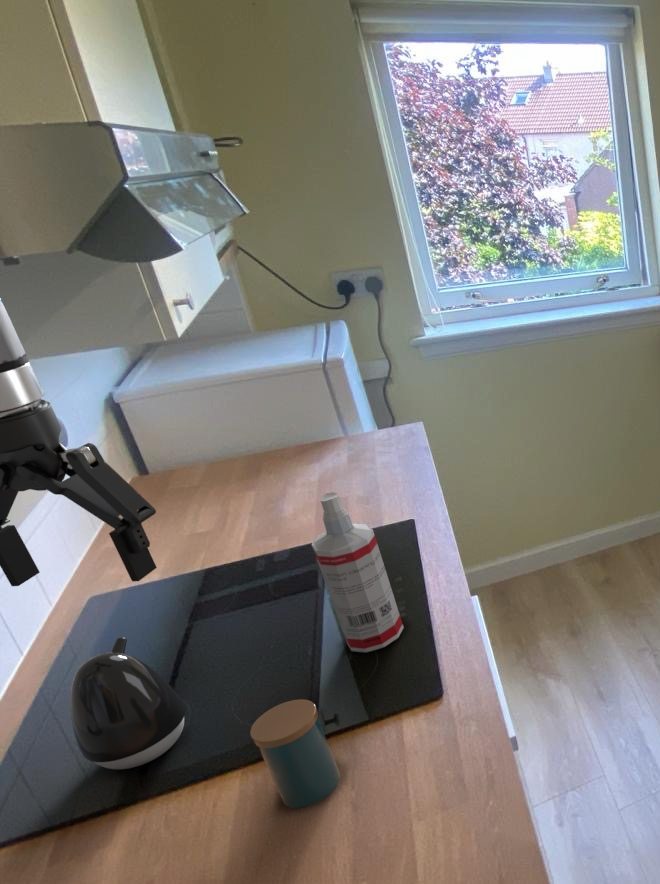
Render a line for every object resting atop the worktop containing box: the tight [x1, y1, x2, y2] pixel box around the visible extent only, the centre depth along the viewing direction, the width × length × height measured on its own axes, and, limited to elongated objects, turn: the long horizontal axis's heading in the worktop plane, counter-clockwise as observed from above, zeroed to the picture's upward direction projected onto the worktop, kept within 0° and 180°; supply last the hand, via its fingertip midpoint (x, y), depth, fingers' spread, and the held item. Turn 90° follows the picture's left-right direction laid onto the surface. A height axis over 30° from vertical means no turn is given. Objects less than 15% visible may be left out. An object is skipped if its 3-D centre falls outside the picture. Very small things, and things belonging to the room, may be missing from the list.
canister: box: [249, 698, 341, 809], centre depth 86 cm, size 6×6×11 cm
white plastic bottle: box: [311, 491, 405, 653], centre depth 109 cm, size 8×8×25 cm
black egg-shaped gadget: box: [69, 636, 186, 770], centre depth 91 cm, size 10×10×15 cm
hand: (85, 577), depth 85 cm, fingers open, 13 cm apart
